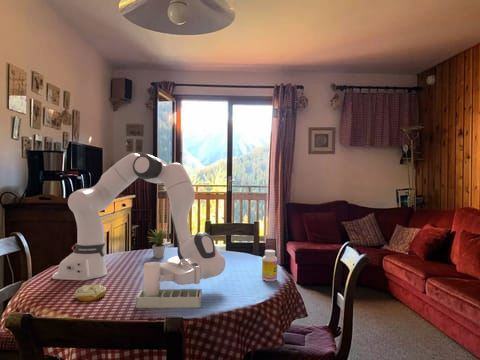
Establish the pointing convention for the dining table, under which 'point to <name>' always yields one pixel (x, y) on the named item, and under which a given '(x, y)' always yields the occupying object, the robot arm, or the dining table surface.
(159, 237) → the house plant
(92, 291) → the decorated donut
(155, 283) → the beige tall cylinder
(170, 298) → the rack
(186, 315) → the dining table surface
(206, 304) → the dining table surface
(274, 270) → the supplement bottle
